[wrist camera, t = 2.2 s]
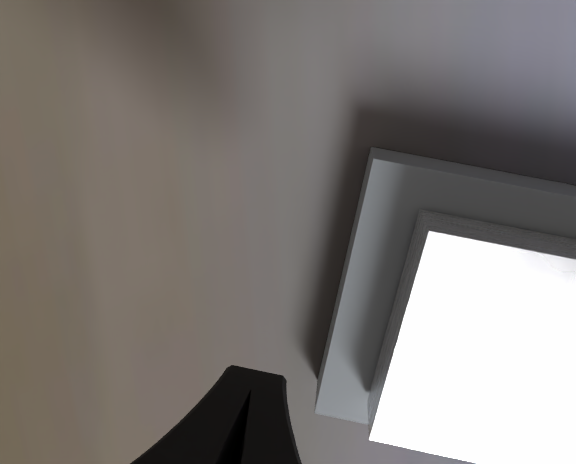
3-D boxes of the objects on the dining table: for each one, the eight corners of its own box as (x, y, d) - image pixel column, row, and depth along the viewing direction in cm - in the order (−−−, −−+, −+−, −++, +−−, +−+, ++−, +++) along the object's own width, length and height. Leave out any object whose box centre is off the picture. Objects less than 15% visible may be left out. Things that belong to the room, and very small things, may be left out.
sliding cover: (661, 256, 16) (702, 284, 14) (572, 444, 19) (597, 489, 17) (419, 209, 16) (429, 230, 14) (367, 400, 19) (369, 439, 17)
